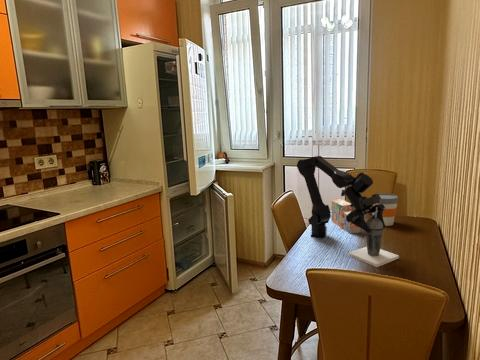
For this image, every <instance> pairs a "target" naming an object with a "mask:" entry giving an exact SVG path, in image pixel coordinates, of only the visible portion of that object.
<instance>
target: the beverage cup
mask: <svg viewBox="0 0 480 360" xmlns="http://www.w3.org/2000/svg"><path fill="white" fill-rule="evenodd" d="M376 216H377V207H376V213H375V218H368V219H367V220H366V221H365V222H366V224H367V225H368V227H369V229H370V231H371V232H370V233H368V232H366V231H365V236H366V237H365V238H366V247H367V251H368V255H370V256H378V255H379V252H380V249H381V245H382V238H383V237H382V236H383V232H384V229H385V228H383V223H382V222H381V220H379V219H378V218H376Z"/></svg>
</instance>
